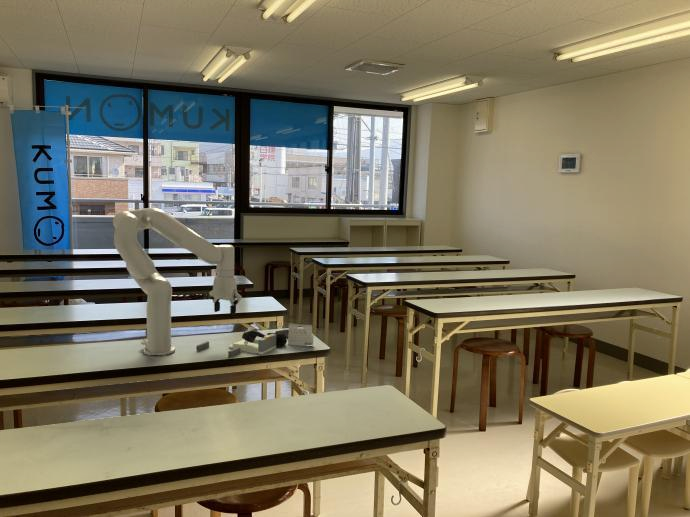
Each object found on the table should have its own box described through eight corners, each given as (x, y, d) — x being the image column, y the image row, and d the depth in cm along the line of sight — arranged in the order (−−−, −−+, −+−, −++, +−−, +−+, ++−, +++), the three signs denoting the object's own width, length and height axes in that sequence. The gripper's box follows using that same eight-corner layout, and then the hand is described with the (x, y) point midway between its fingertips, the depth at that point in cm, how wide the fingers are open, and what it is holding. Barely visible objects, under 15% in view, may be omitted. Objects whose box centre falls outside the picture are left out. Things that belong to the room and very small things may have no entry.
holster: (196, 350, 243) (196, 345, 242) (206, 346, 249) (206, 341, 249) (230, 357, 236) (230, 351, 235) (240, 353, 242) (240, 347, 241)
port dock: (228, 348, 248) (228, 333, 247) (243, 341, 258) (243, 327, 257) (262, 354, 241) (262, 339, 240) (276, 347, 251) (276, 333, 250)
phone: (288, 329, 279) (306, 335, 267) (288, 331, 279) (306, 337, 267) (274, 331, 274) (292, 337, 262) (274, 333, 274) (291, 340, 262)
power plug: (272, 339, 249) (247, 329, 245) (264, 355, 250) (239, 345, 245) (270, 335, 255) (245, 325, 250) (262, 350, 255) (237, 340, 250)
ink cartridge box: (289, 343, 258) (289, 322, 257) (313, 345, 256) (314, 324, 255) (287, 345, 255) (288, 323, 254) (312, 347, 253) (312, 325, 252)
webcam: (287, 345, 256) (287, 332, 255) (280, 348, 250) (280, 336, 249) (269, 342, 259) (270, 329, 258) (262, 345, 254) (262, 333, 253)
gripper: (203, 272, 251) (203, 311, 253) (236, 276, 244) (236, 317, 246) (214, 270, 258) (214, 308, 260) (247, 274, 250) (246, 313, 253)
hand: (225, 312), depth 253 cm, fingers open, 7 cm apart
